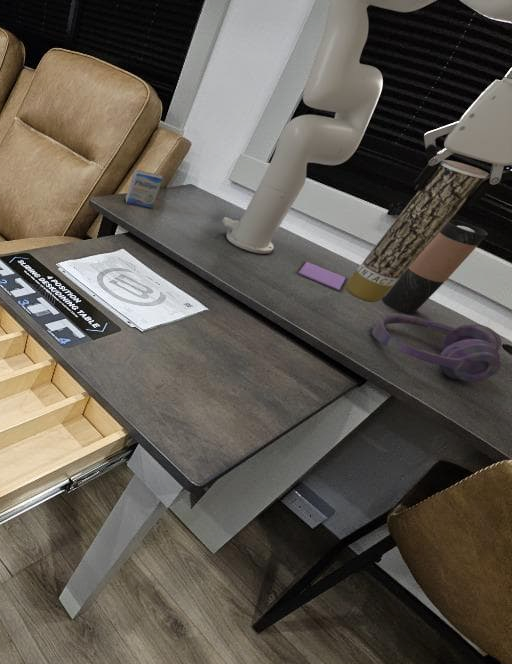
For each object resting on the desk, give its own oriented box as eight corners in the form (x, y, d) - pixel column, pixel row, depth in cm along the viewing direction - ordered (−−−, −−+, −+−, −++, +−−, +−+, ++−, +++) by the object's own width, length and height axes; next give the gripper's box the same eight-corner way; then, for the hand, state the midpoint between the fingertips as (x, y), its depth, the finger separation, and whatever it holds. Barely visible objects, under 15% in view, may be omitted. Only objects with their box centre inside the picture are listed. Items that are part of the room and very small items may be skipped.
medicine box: (125, 203, 135) (136, 173, 129) (125, 198, 138) (135, 168, 132) (151, 208, 134) (163, 178, 129) (150, 203, 138) (161, 174, 132)
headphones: (485, 360, 95) (373, 326, 106) (513, 326, 90) (393, 294, 101) (481, 397, 84) (357, 355, 95) (513, 360, 79) (378, 320, 90)
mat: (297, 273, 116) (298, 272, 115) (305, 262, 122) (306, 261, 122) (338, 290, 112) (339, 289, 111) (344, 278, 118) (345, 277, 118)
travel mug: (422, 317, 108) (496, 238, 94) (390, 309, 108) (459, 229, 95) (407, 300, 114) (475, 224, 100) (376, 293, 114) (440, 216, 101)
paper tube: (347, 282, 96) (445, 157, 79) (381, 297, 93) (490, 172, 76) (339, 291, 92) (439, 162, 75) (374, 307, 89) (487, 177, 72)
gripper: (609, 91, 66) (498, 211, 78) (471, 61, 72) (388, 176, 84) (621, 94, 61) (500, 221, 73) (472, 62, 68) (384, 183, 80)
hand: (441, 196), depth 79 cm, fingers closed on paper tube, 6 cm apart
